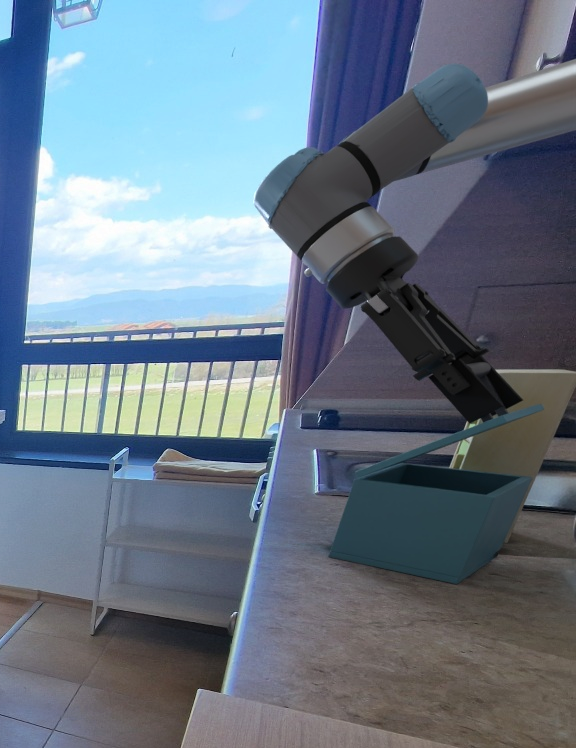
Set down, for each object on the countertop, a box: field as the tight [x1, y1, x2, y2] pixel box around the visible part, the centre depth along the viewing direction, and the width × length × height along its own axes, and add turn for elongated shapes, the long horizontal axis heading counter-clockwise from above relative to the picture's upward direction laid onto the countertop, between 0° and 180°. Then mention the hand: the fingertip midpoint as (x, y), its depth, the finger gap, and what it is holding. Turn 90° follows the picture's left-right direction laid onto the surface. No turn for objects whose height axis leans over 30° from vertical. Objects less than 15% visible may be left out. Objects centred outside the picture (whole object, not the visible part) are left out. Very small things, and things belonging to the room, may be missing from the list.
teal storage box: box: [328, 462, 533, 585], centre depth 75 cm, size 12×16×10 cm
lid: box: [354, 362, 544, 478], centre depth 73 cm, size 12×16×8 cm
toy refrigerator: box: [448, 369, 576, 544], centre depth 79 cm, size 8×7×21 cm
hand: (496, 411), depth 69 cm, fingers closed on lid, 7 cm apart
